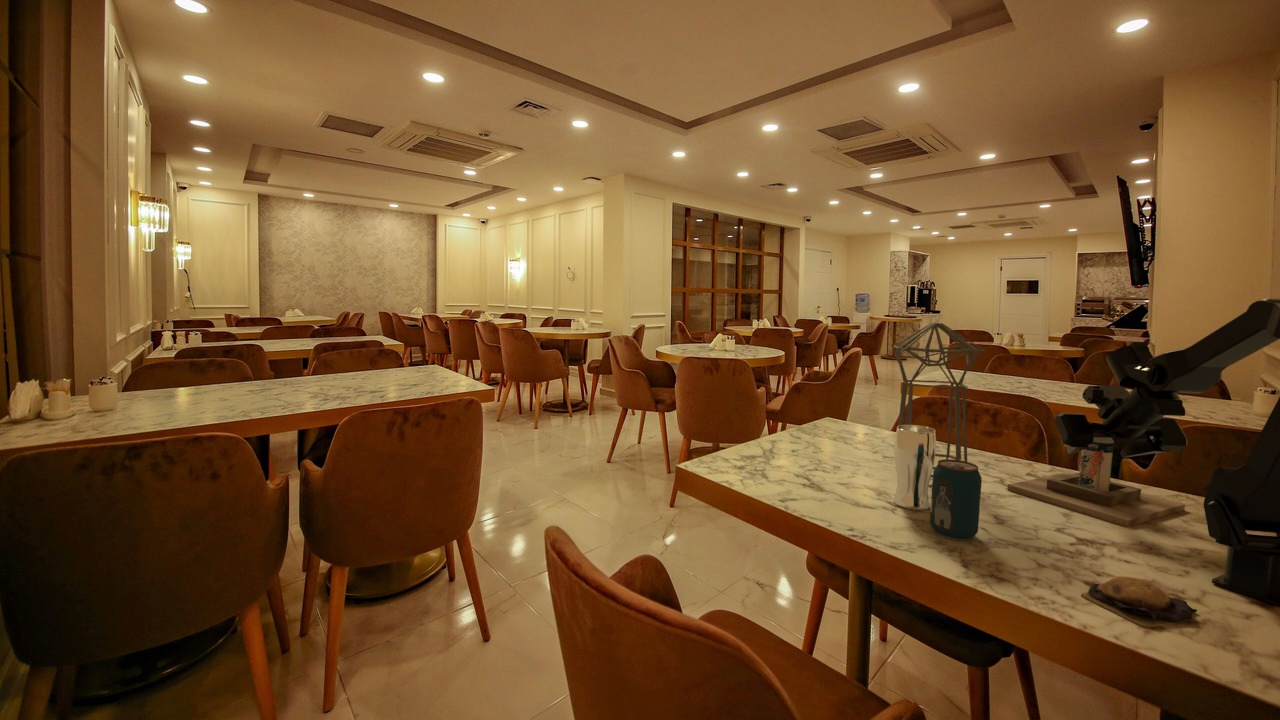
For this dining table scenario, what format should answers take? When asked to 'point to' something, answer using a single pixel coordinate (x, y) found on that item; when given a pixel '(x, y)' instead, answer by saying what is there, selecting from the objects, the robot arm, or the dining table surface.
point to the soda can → (955, 499)
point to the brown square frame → (1098, 499)
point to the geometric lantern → (967, 349)
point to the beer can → (1096, 465)
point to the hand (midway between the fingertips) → (1094, 453)
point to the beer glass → (914, 465)
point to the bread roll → (1139, 602)
